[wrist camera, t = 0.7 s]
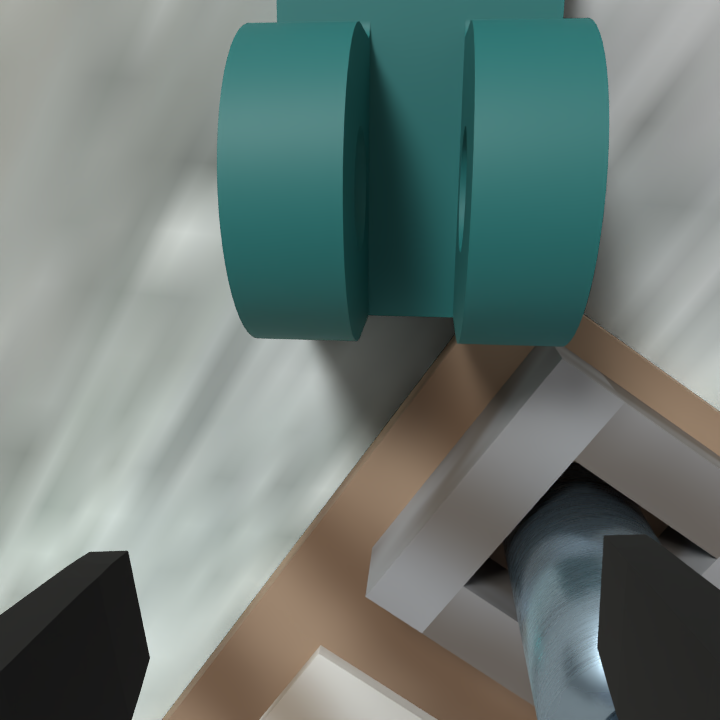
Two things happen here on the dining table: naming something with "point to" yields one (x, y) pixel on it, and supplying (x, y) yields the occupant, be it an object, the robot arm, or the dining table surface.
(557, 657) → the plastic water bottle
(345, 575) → the housing plate
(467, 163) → the bracket
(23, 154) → the dining table surface
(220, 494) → the dining table surface
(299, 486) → the dining table surface
